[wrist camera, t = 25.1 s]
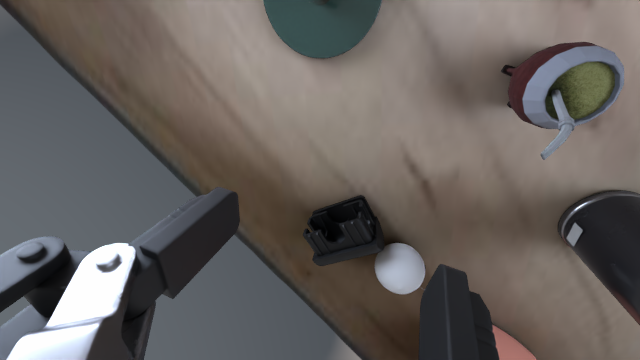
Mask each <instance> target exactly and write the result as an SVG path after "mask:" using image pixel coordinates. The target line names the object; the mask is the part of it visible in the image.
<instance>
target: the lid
mask: <svg viewBox="0 0 640 360" xmlns="http://www.w3.org/2000/svg"><path fill="white" fill-rule="evenodd" d="M263 1H264V6H265V9H266V13H267V15H268V18H269V20H270V22H271V24H272V26H273V28H274V30H275V31H276V33H277V34H278V36H279V37H280V38H281V39H282V40H283V42H285V43H286V44H287V45H288V46H289V47H290V48H292V49H293V50H295V51H296V52H298V53H300V54H302V55H305V56H308V57H313V58H331V57H334V56H338V55H340V54H343V53H345V52H347V51H348V50H350V49H352V48H353V47H354V46H355V45H357V44H358V43H359V42H360V41H361V40H362V39H363V38H364V37H365V35H366V34H367V33H368V31H369V30H370V28H371V27H372V25H373V23H374V21H375V19H376V17H377V15H378V12H379V9H380V6H381V2H382V0H263Z"/></svg>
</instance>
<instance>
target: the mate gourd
mask: <svg viewBox="0 0 640 360" xmlns="http://www.w3.org/2000/svg"><path fill="white" fill-rule="evenodd" d="M501 72H502V73H504V74H507V75H509V76H512V77H511V80H510V85H509V90H508V95H509V100H510V101H509V103H508V104H507V105H508V106H509V107H510V108H512V109H513V110H514V111H515V113H516V114H517V115H518V116H519V117H520V118H521V119H522V120H523V121H525V122H528V123H530V124H533V125H536V126H538V127H541V128H546V129H559V130H560V132H559V134H558V135H557V137H556V138H555V139H554V140H553V141H552V142H551V143H550V144H549V145H548V146H547V147H546V149H545V150H544V151H543V152H542V153H541V157H542V159H543V160H545V159H546V158H547V157H548V156H549V155H551V154H552V153H553V152H554V151H555V150H556V149H557V148H558V147H559V146H560V145H561V144H562V143H564V142H565V141H566V139H567V138H568V136H569V135H570V133H571V131H573V130H574V127H575V126H576V125H580V124H583V123H586V122H588V121H590V120H592V119H593V118H595V117H597V116H598V115H600V114H602V113H603V112H605V111H606V110H607V109H608V108H609V107H610V106H611V105H612V104H613V103H614V102H615V101H616V99H617V98H618V95H619V93H620V91H621V89H622V87H623V85H624V67H623V64H622V63H621V62H620V60H619V59H618V57H617V56H616V54H615V53H614V52H612V51H609V50H607V49H605V48H602V47H600V46H597V45H595V44H592V43H588V42H576V43H563V44H558V45H555V46H553V47H549V48H548V49H545V50H543V51H540V52H538V53H536V54H534V55H533V56H531V57H530V58H529V59H527V60H526V61H525V62H523V63H522V64H521V65H519V66H518V67H517V68H515V67H512V66H509V65H505V66H504V67H503V69H502V71H501Z"/></svg>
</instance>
